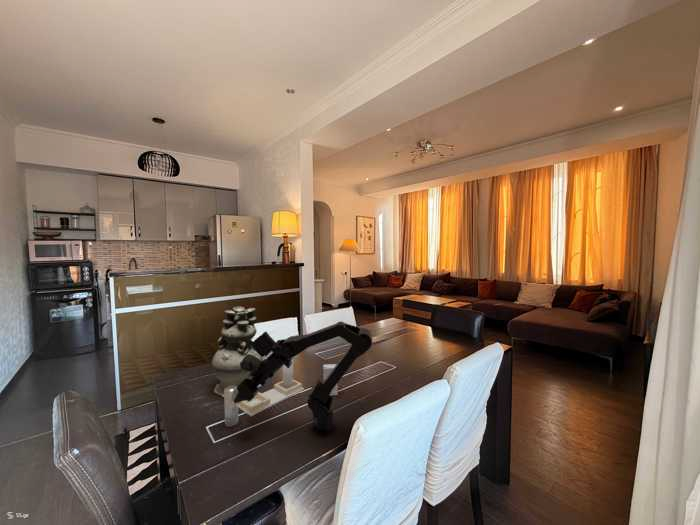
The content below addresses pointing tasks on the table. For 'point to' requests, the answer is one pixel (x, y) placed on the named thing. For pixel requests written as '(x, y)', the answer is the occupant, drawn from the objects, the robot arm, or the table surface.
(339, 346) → the table surface
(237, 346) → the decorative urn
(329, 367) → the skincare box
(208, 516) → the table surface
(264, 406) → the white oblong stand
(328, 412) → the robot arm
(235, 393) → the clear drinking glass
